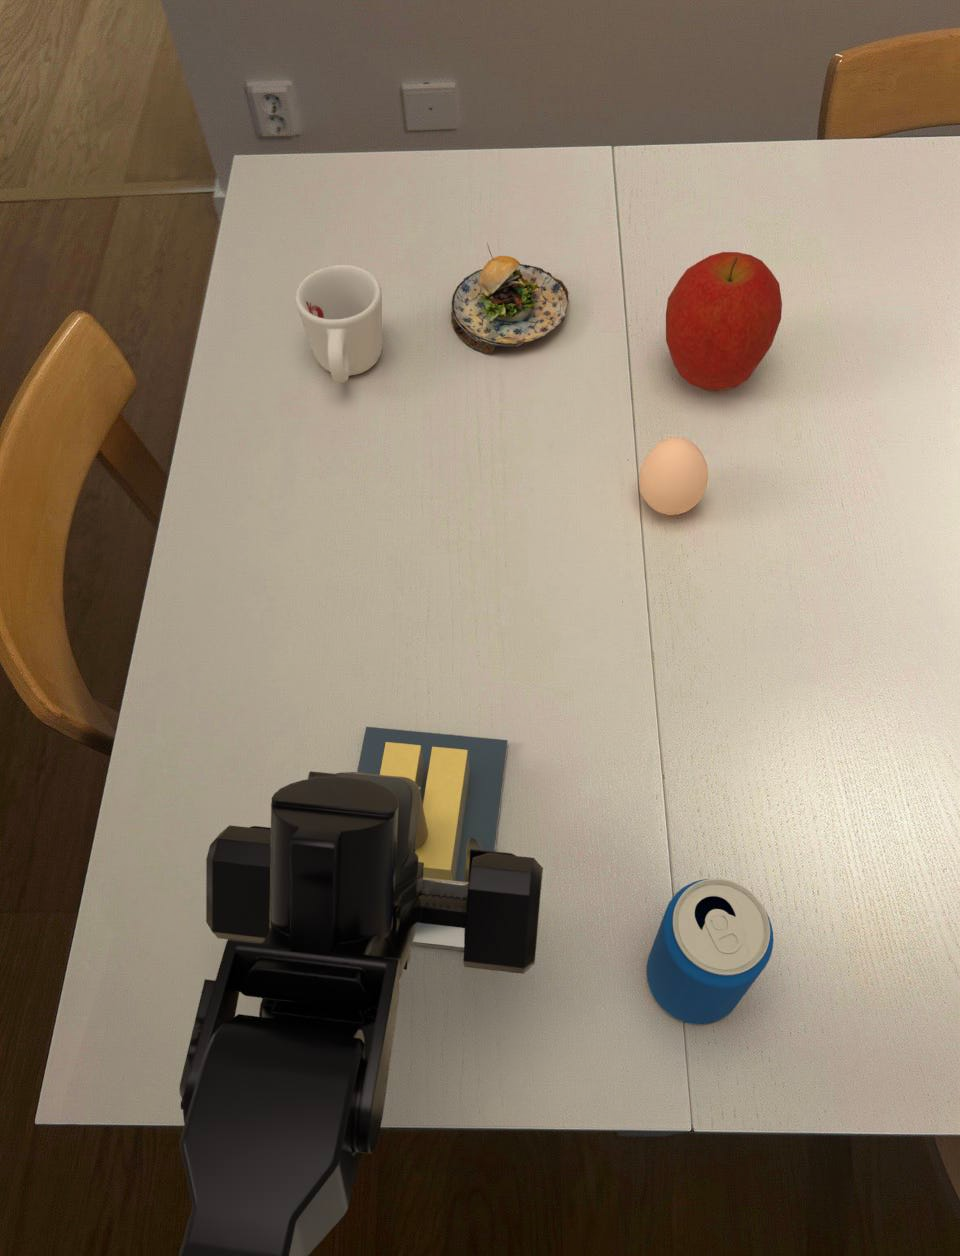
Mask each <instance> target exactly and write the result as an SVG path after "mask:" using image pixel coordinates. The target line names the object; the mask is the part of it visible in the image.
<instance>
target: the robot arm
mask: <svg viewBox="0 0 960 1256" xmlns="http://www.w3.org/2000/svg"><path fill="white" fill-rule="evenodd" d="M419 806H420V789H419V787H418V785H417V784H416V783H415V782H414V781H413V780H412V779H410V778H406V777H399V776H387V775H377V774H368V773H359V772H357V771H347V772H337V773H333V772H332V773H331V772H322V771H311V770H310V771H309V772H308V776H307V778H306V779H301V780H298V781H295V782H292V783H289V784H286V785H285V786H283V787H280V788H279V789H278V790H277V791H276V792H274V794H273V795H272V797H271V803H270V827H269V826H258V825H252V826H240V825H239V826H238V825H230V824H229V825H228V826H227V827H225V828H224V829H223V830H222V831H221V832H219V834H218V835H217V836H216V837H215V839H214V840H213V841H212V842H211V843H210V844H209V848H208V851H207V855H206V859H205V860H206V862H205V865H206V866H205V867H206V869H205V871H206V872H205V876H206V879H205V882H206V884H205V887H206V888H205V889H206V891H205V894H206V896H205V897H206V899H205V905H206V906H205V909H206V910H205V911H206V912H205V918H206V920H205V922H206V925H207V926H208V927H209V929H210V931H211V932H212V933H213V935H215V937H216V938H217V939H220V940H221V939H222V940H227V941H226V943H225V946H224V950H223V952H222V956H221V960H220V963H219V968H218V970H217V973H216V978H215V979H204V981H203V985H202V990H201V993H200V998H199V1002H198V1007H197V1011H196V1015H195V1019H194V1023H193V1027H192V1032H191V1036H190V1040H189V1045H188V1049H187V1053H186V1056H185V1061H184V1065H183V1069H182V1074H181V1078H180V1082H179V1096H180V1097H181V1100H180V1110H182V1115H183V1123H184V1125H183V1127H182V1131H181V1135H180V1138H179V1149H180V1154H181V1159H182V1163H183V1168H184V1173H185V1178H186V1183H187V1186H188V1192H189V1196H190V1202H191V1209H190V1214H189V1217H188V1221H187V1225H186V1228H185V1232H184V1236H183V1239H182V1243H181V1246H180V1249H179V1253H178V1256H310V1254H312V1252H313V1251H314V1250H315V1249H316V1248H317V1246H319V1244H320V1243H321V1242H322V1241H323V1240H324V1238H325V1237H326V1236H327V1235H328V1234H329V1233H330V1232H331V1231H332V1230H333V1228H334V1227H335V1226H336V1225H337V1224H338V1223H339V1221H341V1219H343V1217H344V1216H345V1214H347V1212H348V1209H349V1206H350V1202H351V1198H352V1193H353V1189H354V1185H355V1180H356V1177H357V1173H358V1168H359V1164H360V1160H361V1155H362V1153H363V1154H369V1155H372V1154H373V1153H374V1152H375V1149H376V1146H377V1144H378V1141H379V1136H380V1132H381V1127H382V1122H383V1121H382V1120H383V1117H384V1110H385V1103H386V1095H387V1087H388V1080H389V1073H390V1064H391V1058H392V1050H393V1044H394V1043H393V1042H394V1035H395V1029H396V1027H395V1026H396V1021H397V1012H398V1004H399V998H400V997H399V995H400V981H401V978H402V975H403V972H404V970H405V971H407V970H408V967H409V964H410V962H411V949H412V946H413V945H412V943H413V940H414V937H415V934H416V931H417V928H418V925H419V923H424V924H433V925H442V926H451V927H460V928H464V951H463V962H462V963H463V967H464V968H468V969H469V968H470V969H478V970H485V971H486V970H487V971H493V972H494V971H495V972H502V973H503V972H504V973H510V974H512V973H513V974H520V975H524V974H525V973H526V972H528V970H530V969H531V968H532V967H533V966H534V965H535V964H536V955H537V945H538V934H539V933H538V932H539V921H540V909H541V898H542V897H541V896H542V884H543V875H544V874H543V872H544V867H543V866H542V865H541V864H540V863H539V861H537V860H536V858H535V857H532V856H531V857H529V856H522V855H521V856H520V855H516V854H515V853H511V852H504V851H503V852H502V851H496V850H495V851H486V850H483V849H482V847H481V846H480V844H479V843H478V842H477V840H476V839H475V838H469V840H468V842H467V850H466V866H465V882H461V881H452V880H443V879H434V878H425V877H423V869H424V863H423V862H418V855H417V854H416V853H415V852H414V850H415V842H416V832H417V822H418V812H419ZM422 892H424V893H422ZM437 893H438V894H437ZM443 894H445V895H443ZM450 895H452V896H450ZM458 896H459V897H458ZM240 993H241V994H242V995H243V996H245V997H250V998H259V999H261V1001H260V1005H259V1012H258V1015H256V1016H255V1015H248V1014H240V1013H238V1014H237V1015H236V1013H237V1008H238V1003H239V1002H238V1001H239V996H240Z"/></svg>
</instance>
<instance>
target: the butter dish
mask: <svg viewBox="0 0 960 1256" xmlns="http://www.w3.org/2000/svg"><path fill="white" fill-rule="evenodd" d="M508 742H509V741H508V740H507V739H500V738H488V737H479V736H468V735H459V734H458V735H457V734H447V733H437V732H436V733H435V732H426V731H416V730H406V729H394V728H384V727H374V726H365V729H364V735H363V740H362V746H361V750H360V755H359V760H358V766H357V771H356V772H359V773H368V774H377V775H387V776H399V777H406V778H410V779H412V780H413V781H414V782H415V783H416V784H417V785H418V787H420V788H421V793H422V798H423V809H424V814H425V819H426V824H427V829H428V837H427V840H426V842H425V843H424V844H423V845H422V846H421V847H420V848H418V849H416V850H415V853H416V854H417V855H418V862H423V863H424V869H423V877H425V878H434V879H443V880H452V881H461V882H465V866H466V850H467V842H468V840H469V838H475V839H476V840H477V842H478V843H479V844H480V846H481V847H482V849H483V850H486V851H495V852H496V846H497V845H496V844H497V837H498V827H499V823H500V822H499V821H500V814H501V813H500V812H501V803H502V797H503V796H502V795H503V787H504V779H505V772H506V771H505V770H506V762H507V754H508V748H509V747H508V746H509V743H508ZM422 893H424V892H422ZM437 894H438V893H437ZM443 895H445V894H443ZM450 896H452V895H450ZM458 897H459V896H458ZM412 946H417V947H426V948H433V949H443V950H450V951H458V952H459V951H461V952H464V928H460V927H451V926H442V925H433V924H424V923H419V925H418V928H417V931H416V934H415V937H414V940H413V943H412Z"/></svg>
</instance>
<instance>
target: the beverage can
mask: <svg viewBox="0 0 960 1256" xmlns="http://www.w3.org/2000/svg"><path fill="white" fill-rule="evenodd" d="M772 925H773V924H772V922H771V918H770V917H769V914H768V912H767V910H766V909H765V907H764V905H763V903H762V902H761V901H760V900H759V899H758V897H757V896H756V895H755V894H754V893H753V892H752V891H751V890H749V889H748V888H747V887H745V886H744V885H743V884H739V883H737V882H735V881H732V880H729V879H725V878H704V879H700V880H696V881H693V882H690V883H688V884H686V885H685V886H684V887H682V888H680V890H678V891H677V892H676V893H675V894H674V896H673V897H672V898H671V899H670V901H669V902H668V904H667V907H666V909H665V911H664V914H663V917H662V919H661V921H660V925H659V927H658V930H657V932H656V936H655V938H654V941H653V943H652V946H651V949H650V951H649V954H648V957H647V961H646V980H647V984H648V987H649V990H650V993H651V994H652V996H653V998H654V1000H655V1001H656V1003H657V1004H658V1005H659V1006H660V1008H662V1010H663V1011H665V1012H666V1013H667V1014H668V1015H670V1016H671V1017H672V1018H675V1019H676V1020H678V1021H680V1022H683V1023H686V1024H690V1025H709V1024H714V1023H716V1022H719V1021H721V1020H723V1019H724V1018H726V1017H727V1016H728V1015H730V1014H731V1013H732V1012H733V1011H734V1010H735V1008H736V1007H737V1005H738V1004H739V1003H740V1002H741V1000H742V999H743V998H744V996H745V995H746V994H747V992H748V991H749V989H750V988H751V987H752V985H753V984H754V983H755V981H756V980H757V979H758V978H759V976H760V975H761V974H762V973H763V971H764V969H765V968H766V967H767V965H768V963H769V961H770V959H771V956H772V952H773V948H774V930H773V926H772Z"/></svg>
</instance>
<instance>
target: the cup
mask: <svg viewBox="0 0 960 1256" xmlns="http://www.w3.org/2000/svg"><path fill="white" fill-rule="evenodd" d="M295 306H296V309H297V312H298V314H299V317H300V320H301V322H302V326H303V328H304V331H305V334H306V336H307V339H308V342H309V344H310V347H311V350H312V352H313V355H314V358H315V359H316V361H317V362H318V364H319V365H320V366H321V367H322V368H323V369H324V370H326V371H327V372H329V373H330V375H331V378H332V380H333V382H336V383H346V382H347V381H348V379H349V377H350V376H356V375H359V374H362V373H365V372H366V371H368V370H370V369H371V368H372V367H374V365H376V363H377V362H378V361H379V359H380V357H381V354H382V350H383V293H382V287H381V284H380V281H379V280H378V278H376V276H375V275H373V274H372V273H371V272H370V271H368V270H367V269H365V268H362V267H359V266H356V265H350V264H335V265H334V264H333V265H329V266H325V267H322V268H319V269H317V270H315V271H313V272H312V273H310V274H309V275H306V277H305V278H304V279H302V281H301V282H300V283H299V285H298V287H297V288H296V292H295Z"/></svg>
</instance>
